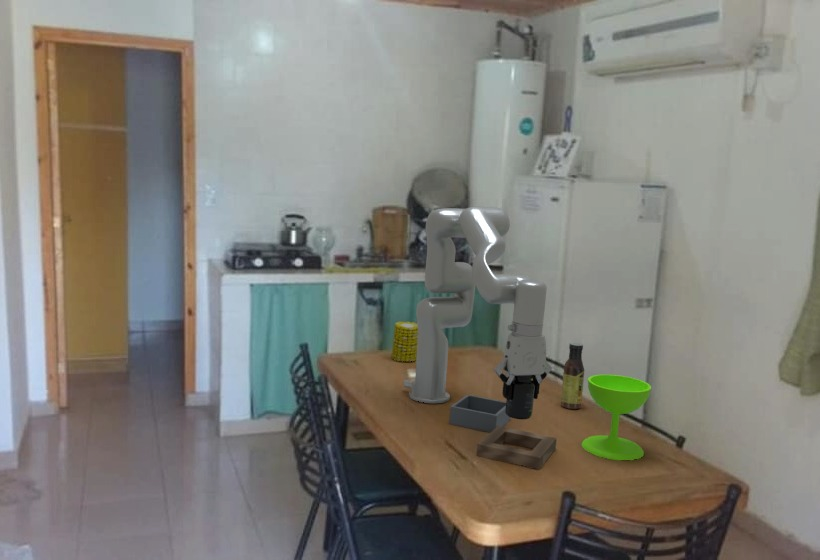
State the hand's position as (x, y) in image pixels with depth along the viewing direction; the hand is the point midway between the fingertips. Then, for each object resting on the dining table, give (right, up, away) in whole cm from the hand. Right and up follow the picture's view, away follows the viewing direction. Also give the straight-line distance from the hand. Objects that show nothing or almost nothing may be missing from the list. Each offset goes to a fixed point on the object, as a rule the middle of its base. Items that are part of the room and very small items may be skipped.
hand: (520, 397), depth 190 cm
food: (-30, 0, +87) cm, 92 cm away
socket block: (-1, -14, +2) cm, 14 cm away
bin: (-8, -11, +24) cm, 27 cm away
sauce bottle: (+22, -10, +43) cm, 49 cm away
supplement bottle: (0, -5, +1) cm, 5 cm away
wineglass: (+26, -15, +8) cm, 31 cm away
